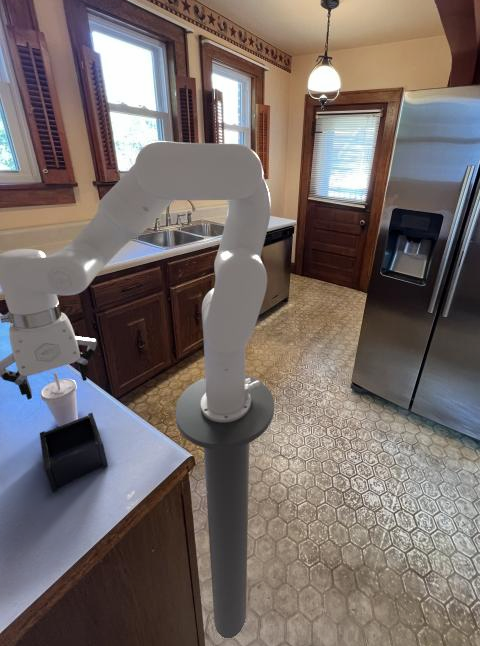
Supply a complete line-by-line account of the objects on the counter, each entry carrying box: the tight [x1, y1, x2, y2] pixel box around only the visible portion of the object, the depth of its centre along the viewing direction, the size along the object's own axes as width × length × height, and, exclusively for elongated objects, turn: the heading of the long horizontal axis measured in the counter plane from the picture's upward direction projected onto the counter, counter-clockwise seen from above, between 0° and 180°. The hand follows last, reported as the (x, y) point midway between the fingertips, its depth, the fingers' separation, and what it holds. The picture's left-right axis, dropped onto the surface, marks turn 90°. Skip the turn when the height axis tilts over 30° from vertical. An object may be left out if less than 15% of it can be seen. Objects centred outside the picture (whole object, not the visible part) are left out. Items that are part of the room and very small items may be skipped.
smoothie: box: [40, 371, 79, 427], centre depth 67 cm, size 6×6×14 cm
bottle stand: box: [39, 412, 109, 494], centre depth 60 cm, size 9×10×6 cm
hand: (57, 385), depth 66 cm, fingers open, 9 cm apart
